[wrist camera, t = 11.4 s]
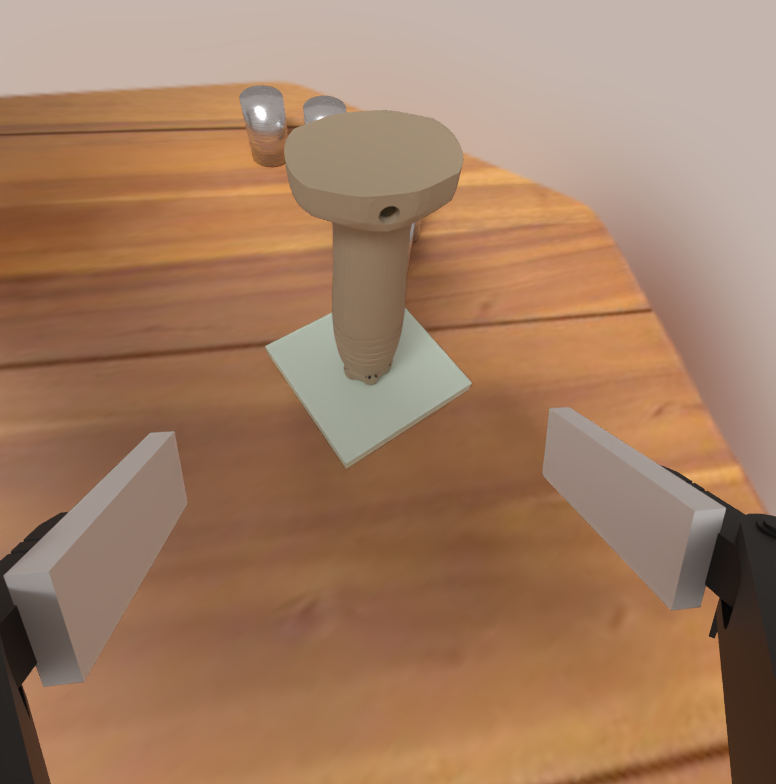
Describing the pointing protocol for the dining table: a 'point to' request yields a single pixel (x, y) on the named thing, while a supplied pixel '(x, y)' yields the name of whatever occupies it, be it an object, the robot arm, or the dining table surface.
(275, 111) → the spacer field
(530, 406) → the dining table surface
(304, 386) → the pad
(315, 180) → the handle
